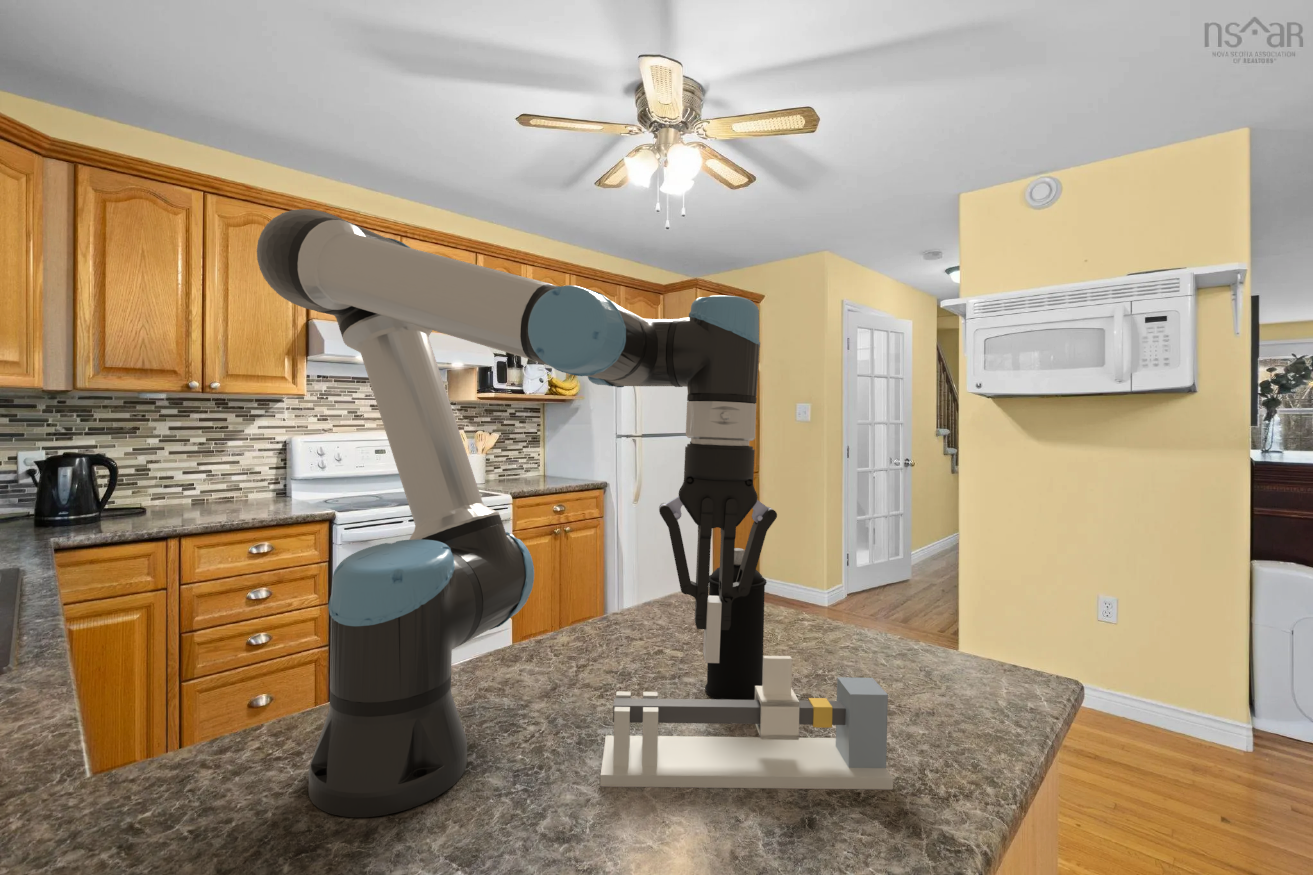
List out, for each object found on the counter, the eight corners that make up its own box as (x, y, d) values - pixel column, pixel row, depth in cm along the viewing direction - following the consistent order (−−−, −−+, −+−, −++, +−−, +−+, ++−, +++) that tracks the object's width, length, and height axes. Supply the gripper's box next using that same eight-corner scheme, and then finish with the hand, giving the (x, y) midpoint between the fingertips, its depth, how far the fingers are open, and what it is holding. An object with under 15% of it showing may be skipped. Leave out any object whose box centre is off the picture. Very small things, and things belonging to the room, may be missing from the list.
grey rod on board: (600, 786, 62) (602, 698, 62) (605, 745, 70) (607, 667, 70) (892, 789, 63) (894, 702, 62) (864, 748, 71) (866, 671, 70)
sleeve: (760, 739, 64) (762, 663, 64) (754, 721, 68) (755, 650, 68) (798, 739, 64) (800, 664, 64) (789, 721, 68) (791, 650, 68)
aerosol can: (763, 707, 80) (766, 557, 80) (701, 701, 82) (704, 553, 82) (764, 682, 89) (768, 545, 88) (708, 677, 90) (711, 542, 90)
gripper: (660, 441, 62) (651, 669, 63) (787, 446, 62) (777, 674, 63) (659, 439, 70) (651, 643, 70) (772, 443, 70) (763, 647, 70)
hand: (710, 657), depth 67 cm, fingers closed
